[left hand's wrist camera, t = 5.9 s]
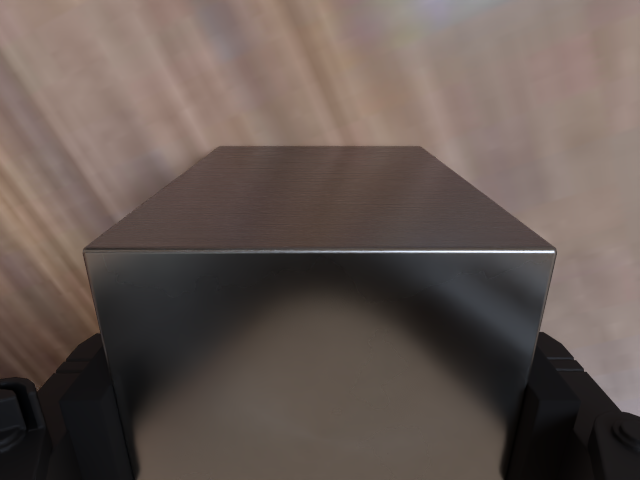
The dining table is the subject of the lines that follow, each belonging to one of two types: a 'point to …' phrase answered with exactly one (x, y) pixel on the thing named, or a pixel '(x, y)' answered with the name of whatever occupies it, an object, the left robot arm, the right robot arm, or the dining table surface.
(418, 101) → the dining table surface
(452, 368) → the block
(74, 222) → the dining table surface
